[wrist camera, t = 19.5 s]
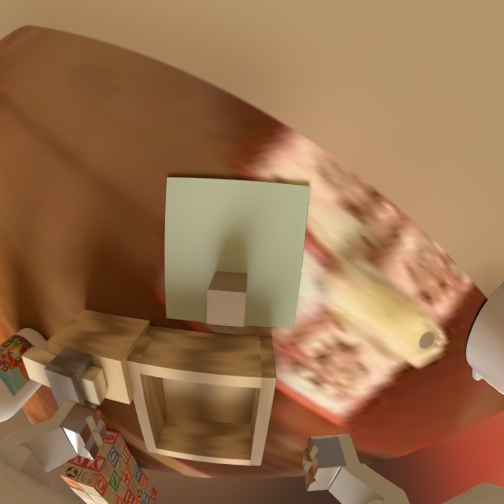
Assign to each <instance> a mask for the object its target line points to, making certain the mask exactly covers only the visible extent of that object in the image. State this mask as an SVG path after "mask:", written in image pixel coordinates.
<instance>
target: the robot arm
mask: <svg viewBox="0 0 504 504" xmlns="http://www.w3.org/2000/svg"><path fill="white" fill-rule="evenodd" d="M466 356H467V361H468V363H469V365H470V366H471V367H472V369H473V378H474V379H475V380H480V379H482V378H483V379H484V380H486V381H487V382H488V383H489V384H491V385H492V386H493V387H494V388H496V389H497V390H498V391H499V392H501V393H502V394H504V282H503V283H502V285H501V286H500V287H499V288H498V289H497V290H496V291H495V292H494V293H493V294H492V295H491V296H490V298H489V299H488V300H487V302H486V303H485V304H484V306H483V308H482V309H481V311H480V313H479V314H478V316H477V318H476V320H475V323H474V325H473V327H472V330H471V333H470V336H469V339H468V343H467V350H466ZM101 417H102V414H101V412H100V410H97V409H94V408H91V407H89V406H86V405H83V404H81V403H78V402H75V401H73V400H70V399H68V400H66V401H65V402H64V403H63V404H62V406H61V407H60V408H59V410H58V411H57V412H56V413H55V415H54V416H53V417H52V419H51V420H50V421H44V422H41V423H39V424H36V425H33V426H31V427H28V428H25V429H22V430H19V431H16V432H13V433H10V434H7V435H6V437H5V438H4V439H3V440H2V442H1V443H0V504H80V503H78V502H76V501H73V500H71V499H69V498H67V497H65V496H63V495H61V494H59V493H57V492H55V491H53V490H52V489H51V488H52V486H53V485H54V481H53V479H52V478H51V477H50V476H49V475H48V473H47V472H49V471H51V470H53V469H54V468H56V467H58V466H60V465H61V464H63V463H65V462H66V461H68V460H70V459H71V458H73V457H75V456H76V455H80V456H83V457H85V458H88V459H91V460H94V459H95V457H96V455H97V453H98V452H99V447H98V445H99V444H101V443H103V442H104V440H105V438H106V433H107V430H106V425H105V423H104V422H103V421H102V420H101ZM303 468H304V470H305V471H306V472H307V475H306V477H305V480H306V487H307V491H313V490H325V489H329V491H330V492H331V493H332V494H333V495H334V496H335V497H336V498H337V499H338V500H339V501H340V502H341V503H342V504H409V501H408V499H407V497H406V494H405V492H404V491H403V490H401V489H400V488H398V487H397V486H395V485H394V484H392V483H391V482H389V481H388V480H386V479H385V478H383V477H382V476H380V475H379V474H377V473H376V472H374V471H373V470H372V469H370V468H369V467H367V466H366V465H365V464H360V463H359V460H358V457H357V454H356V451H355V448H354V445H353V443H352V440H351V437H350V435H349V434H342V435H329V436H316V437H310V438H309V440H308V447H307V448H306V449H305V451H304V454H303ZM442 504H504V489H503V488H500V487H498V486H495V485H493V484H489V483H482V484H479V485H477V486H475V487H473V488H472V489H470V490H468V491H466V492H464V493H462V494H460V495H458V496H457V497H454V498H452V499H450V500H449V501H446V502H444V503H442Z"/></svg>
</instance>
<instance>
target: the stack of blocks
mask: <svg viewBox="0 0 504 504" xmlns="http://www.w3.org/2000/svg"><path fill="white" fill-rule="evenodd" d="M106 430H107V429H106ZM98 447H99V452H98V453H97V455H96V457H95V459H94V460H91V459H88V458H85V457H83V456H80V455H76V456H75V457H73V458H71V459H70V460H68V462H67V464H66V465H65V467H64V469H63V470H62V472H61V474H60V476H61V477H62V478H63V479H64V480H65V481H66V482H67V483H68V484H69V485H70V488H71V489H72V490H73V491H74V492H75V493H76V494H77V495H78V496H80V497H81V498H82V499H83V500H84V501H85V502H86V503H87V504H154V502H155V499H156V495H157V493H156V491H155V490H154V488H153V486H152V485H151V483H150V482H149V480H148V479H147V477H146V476H145V474H144V473H143V472H142V470H141V469H140V467H139V465H138V464H137V462H136V461H135V459H134V457H133V456H132V454H131V452H130V450H129V448H128V446H127V445H126V443H125V441H124V439H123V437H122V435H121V433H120V432H116V431H111V430H107V433H106V438H105V440H104V442H103V443H101V444H99V445H98Z"/></svg>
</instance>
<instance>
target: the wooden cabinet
mask: <svg viewBox="0 0 504 504" xmlns="http://www.w3.org/2000/svg"><path fill="white" fill-rule="evenodd" d="M47 344H48V347H49V351H50V353H51V354H54V355H57V356H56V357H55V358H54V359H53V360H52V361H51V362H50V363H49V364H48V365H47V366H46V367H45V368H44V370H45V373H46V376H47V378H48V381H49V384H50V386H51V389H52V392H53V394H54V397H55V399H56V401H57V404H58V406H59V408H60V407H61V406H62V404H63V403H64V402H65V401H66V400H68V399H70V400H73V401H75V402H78V403H81V404H83V405H86V406H89V407H91V408H94V409H95V408H96V407H97V405H98V404H95V403H92V402H89V401H86V400H84V398H83V395H82V392H81V389H80V386H79V383H78V379H79V378H80V377H81V376H82V374H83V373H84V372H85V371H86V369H87V368H88V367H89V366H94V367H98V368H101V369H102V370H103V374H104V378H105V382H106V385H107V389H108V393H107V395H106V396H105V398H108V399H111V400H115V401H119V402H123V403H127V404H130V403H131V402H132V400H133V398H134V403H135V407H136V411H137V415H138V419H139V423H140V426H141V430H142V433H143V437H144V440H145V444H146V447H147V450H148V452H152V453H157V454H161V455H166V456H172V457H177V458H183V459H189V460H196V461H204V462H212V463H223V464H235V465H256V466H260V465H261V461H262V456H263V451H264V445H265V440H266V435H267V430H268V424H269V419H270V413H271V408H272V402H273V396H274V390H275V384H276V370H275V362H274V353H273V345H272V337H258V336H243V335H230V334H218V333H208V332H198V331H189V330H181V329H173V328H165V327H158V326H151V325H150V320H143V319H136V318H130V317H124V316H118V315H112V314H107V313H101V312H96V311H91V310H84V311H82V312H81V313H80V314H79V315H77V316H76V317H75V318H74V319H73V320H71V321H70V322H69V323H68V324H67V325H65V326H64V327H63V328H62V329H61V330H59V331H58V332H57V333H56V334H55V335H53V336H52V337H51V338H50V339H49V340H48V341H47Z"/></svg>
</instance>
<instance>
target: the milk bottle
mask: <svg viewBox="0 0 504 504" xmlns="http://www.w3.org/2000/svg"><path fill="white" fill-rule="evenodd" d="M31 347H35V348H37V349H40V350H43V351H46V352H48V353H50V351H49V347H48V344H47V341H46V340H45V338H44V337H43V336H42V335H41V334H40V333H38V332H37V331H36V330H34V329H31V328H24V329H22V330H20V331H19V332H17V333H16V334H15V335H13V336H12V337H11V338H9V339H8V340H7V341H5V342H4V343H3V344H2V345H0V422H2V421H5V420H7V419H9V418H10V417H12V416H13V415H14V414H15V413H16V412H17V411H18V410H19V409H20V408H21V407H22V406H23V405H24V403H25V402H26V401H27V400H28V399H29V398H30V397H31V396H32V395H33V394H34V392H35V391H36V390H37V389H38V388H39V387H40V386H41V385H42V384H41V383H39V382H36V381H34V380H32V379H30V378H29V375H28V373H27V370H26V368H25V365H24V362H23V359H22V355H23V354H24V353H25V352H27V351H28V350H29V349H30V348H31Z"/></svg>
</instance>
